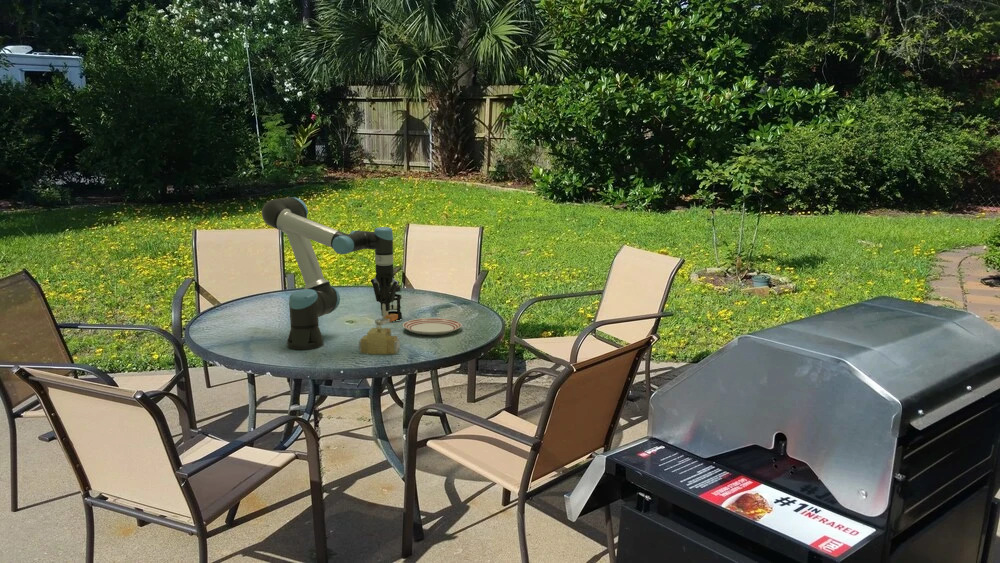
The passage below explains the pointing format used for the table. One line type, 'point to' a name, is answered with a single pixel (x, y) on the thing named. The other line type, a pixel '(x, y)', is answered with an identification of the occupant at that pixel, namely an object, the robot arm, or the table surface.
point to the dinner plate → (432, 326)
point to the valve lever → (385, 320)
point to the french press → (396, 307)
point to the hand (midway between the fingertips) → (385, 317)
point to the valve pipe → (379, 342)
